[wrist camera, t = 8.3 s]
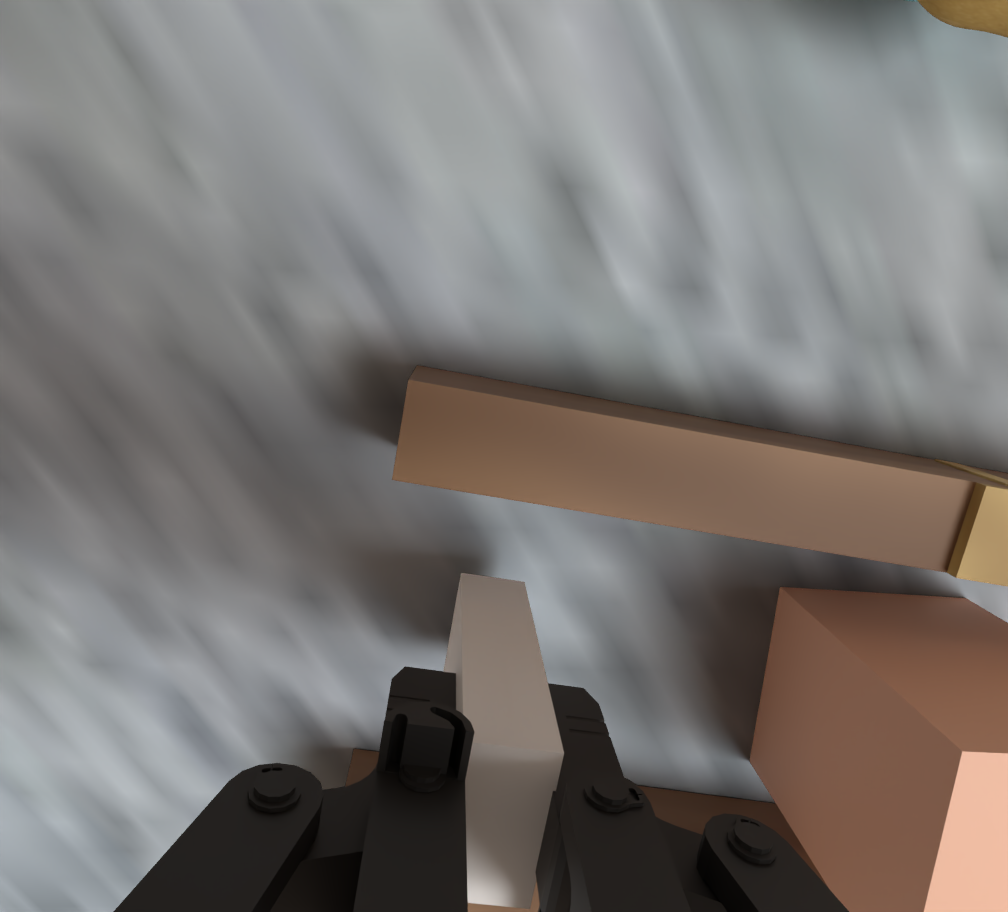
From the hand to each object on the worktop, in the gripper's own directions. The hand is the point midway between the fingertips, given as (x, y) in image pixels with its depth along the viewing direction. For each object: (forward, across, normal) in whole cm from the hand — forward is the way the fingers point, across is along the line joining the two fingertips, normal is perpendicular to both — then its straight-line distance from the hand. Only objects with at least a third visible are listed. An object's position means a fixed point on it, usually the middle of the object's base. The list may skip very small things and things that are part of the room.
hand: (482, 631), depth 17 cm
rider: (+1, +10, 0) cm, 10 cm away
